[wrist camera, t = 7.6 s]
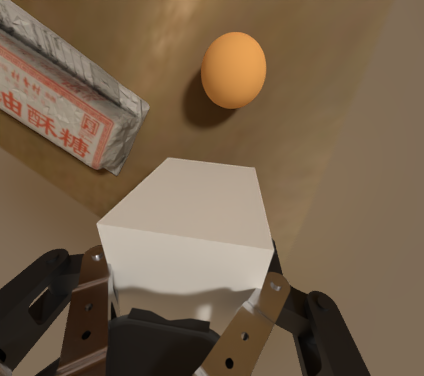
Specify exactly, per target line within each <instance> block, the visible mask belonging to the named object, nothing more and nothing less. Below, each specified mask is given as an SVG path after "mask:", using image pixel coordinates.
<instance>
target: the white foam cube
mask: <svg viewBox="0 0 424 376" xmlns="http://www.w3.org/2000/svg"><path fill="white" fill-rule="evenodd" d="M97 228H98V231H99V235H100V239H101V242H102V246H103V250H104V253H105V257H106V261H107V263H109V264H111V266H112V270H113V286H114V289H117V290H118V293H119V307H120V312H121V315H126V314H129V313H130V311H131V309H132V308H138V309H143V310H149V311H152V312H154V313H156V314H158V315H159V316H161V317H163V318H165V319H167V320H178V319H187V318H192V319H198V320H203V321H209V322H210V327H209V328H210V329H212V330H214V331H215V332H216V333H218V334H219V335H220V336H221V335H222V334H223V332H224V331H225V329H226V328H227V326H228V325H229V324H230V322H231V321H232V319H233V318H234V316H235V315H236V313H237V312H238V310H239V309H240V307H241V306H242V304H243V303H244V302H245V301H248V300H249V298H250V297H251V295H252V294H253V292H254V291H255V289H256V288H260V289H262V286H263V283H264V280H265V277H266V274H267V271H268V268H269V265H270V262H271V259H272V256H273V253H274V247H273V243H272V238H271V234H270V230H269V226H268V222H267V217H266V213H265V209H264V205H263V201H262V196H261V192H260V188H259V184H258V180H257V175H256V171H255V168H252V167H243V166H235V165H226V164H218V163H210V162H201V161H193V160H184V159H176V158H167V159H166V160H165V161H164V162H163V163H162V164H161V165H160V166H158V167H157V168H156V169H155V170H154V171H153V172H152V173H151V174H150V175H149V176H148V177H146V178H145V179H144V180H143V181H142V182H141V183H140V184H139V185H138V186H137V187H136V188H135V189H133V190H132V191H131V192H130V193H129V194H128V195H127V196H126V197H125V198H124V199H123V200H121V201H120V202H119V203H118V204H117V205H116V206H115V207H114V208H113V209H112V210H111V211H110V212H108V213H107V214H106V215H105V216H104V217H103V218H102V219H101V220H100V221H99V222H98V223H97Z"/></svg>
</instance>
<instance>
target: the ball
mask: <svg viewBox="0 0 424 376" xmlns="http://www.w3.org/2000/svg"><path fill="white" fill-rule="evenodd" d="M265 75H266V61H265V56H264V53H263V51H262V49H261V47H260V45H259V44H258V43H257V42H256V41H255V40H254V39H253V38H252V37H250V36H249V35H247V34H244V33H240V32H231V33H227V34H224V35H222V36H220V37H219V38H217V39H216V40H215V41H214V42H213V43H212V44H211V45H210V47H209V48H208V50H207V51H206V53H205V55H204V58H203V62H202V66H201V79H202V84H203V87H204V90H205V92H206V94H207V95H208V97H209V98H210V99H211V100H212V101H213V102H214V103H215V104H217V105H219V106H221V107H223V108H228V109H235V108H240V107H243V106H245V105H247V104H248V103H250V102H251V101H252V100H253V99H254V98H255V97H256V96H257V95H258V93H259V92H260V90H261V88H262V86H263V83H264V80H265Z"/></svg>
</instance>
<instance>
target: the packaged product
mask: <svg viewBox="0 0 424 376" xmlns="http://www.w3.org/2000/svg"><path fill="white" fill-rule="evenodd" d="M0 109H1V110H3V111H4V112H6V113H8V114H9V115H11V116H12V117H14V118H15V119H17V120H19V121H20V122H22V123H23V124H25V125H27V126H28V127H30V128H31V129H33V130H34V131H36V132H37V133H39V134H40V135H42V136H44V137H45V138H47V139H48V140H50V141H51V142H53V143H55V144H56V145H57V146H59V147H61V148H62V149H64V150H65V151H67V152H69V153H70V154H72V155H73V156H75V157H76V158H78V159H79V160H81V161H83V162H84V163H85V164H87V165H89V166H90V167H91V168H94V169H96V170H98V169H101V168H105V169H107V170H108V171H110V172H111V173H113V174H115V175H116V176H117V175H118V174H119V172H120V170H121V168H122V167H123V165H124V163H125V161H126V159H127V157H128V154H129V152H130V150H131V148H132V145H133V143H134V140H135V137H136V135H137V133H138V131H139V129H140V127H141V125H142V123H143V121H144V119H145V117H146V114H147V112H148V110H149V104H148V103H147V102H145V101H144V100H143V99H141V98H140V97H139V96H137V95H136V94H134V93H133V92H132V91H130V90H129V89H127V88H126V87H124V86H123V85H122V84H120V83H119V82H118V81H117V80H115V79H114V78H113V77H112V76H110V75H109V74H108V73H107V72H105V71H104V70H103V69H102V68H100V67H99V66H98V65H97V64H95V63H94V62H92V61H91V60H89V59H88V58H87V57H86V56H84V55H83V54H82V53H80V52H79V51H78V50H76V49H75V48H74V47H72V46H71V45H70V44H68V43H67V42H66V41H65V40H63V39H62V38H61V37H59V36H58V35H57V34H55V33H54V32H53V31H51V30H50V29H49V28H47V27H46V26H44V25H43V24H41V23H40V22H39V21H37V20H36V19H35V18H33V17H32V16H31V15H29V14H28V13H27V12H25V11H24V10H23V9H21V8H20V7H19V6H17V5H16V4H14V3H13V2H11V1H10V0H0Z"/></svg>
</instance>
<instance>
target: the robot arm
mask: <svg viewBox="0 0 424 376" xmlns="http://www.w3.org/2000/svg"><path fill="white" fill-rule="evenodd" d="M272 243H273V247H274V253H273V256H272V259H271V262H270V265H269V268H268V271H267V274H266V277H265V280H264V283H263V286H262V289H260V288H256V289H255V291H254V292H253V294H252V295H251V297H250V298H249V300H248V301H245V302H244V303H243V304H242V306H241V307H240V309H239V310H238V312H237V313H236V315H235V316H234V318H233V319H232V321H231V322H230V324H229V325H228V326H227V328H226V329H225V331H224V332H223V334H222V335H221V336H220V335H219V334H218V333H216V332H215V331H214V330H212V329H210V328H209V327H210V322H209V321H203V320H198V319H192V318H187V319H178V320H167V319H165V318H163V317H161V316H159V315H158V314H156V313H154V312H152V311H149V310H143V309H138V308H132V309H131V311H130V313H129V314H126V315H122V316H121V315H120V307H119V293H118V290H117V289H114V286H113V270H112V266H111V264H109V263H107V261H106V257H105V253H104V250H103V246H102V245H98V246H95V247H93V248H91V249H89V250H88V251H86V252H85V254H77V255H69V254H68V251H66V250H65V249H55V250H51V251H49V252H47V253H45V254H43V255H42V256H41V257H39V258H38V259H37V260H36V261H34V262H33V263H32V264H31V265H29V266H28V267H27V268H26V269H25V270H23V271H22V272H21V273H20V274H19V275H17V276H16V277H15V278H14V279H12V280H11V281H10V282H9V283H7V284H6V285H5V286H4V287H3V288H1V289H0V376H12V371H13V370H14V369H15V368H16V367H17V365H18V364H19V363H20V362H21V360H22V359H23V358H24V357H25V356H26V354H27V353H28V352H29V351H30V349H31V348H32V347H33V346H34V345H35V343H36V342H37V341H38V340H39V339H40V337H41V336H42V335H43V334H44V332H45V331H46V330H47V329H48V328H49V326H50V325H51V324H52V322H53V321H54V320H55V319H56V318H57V316H58V315H59V314H60V313H61V312H62V311H63V309H64V308H65V307H66V306H67V304H68V303H69V302H70V306H69V312H68V317H67V322H66V328H65V333H64V339H63V344H62V349H61V355H60V357H59V358H58V359H57V360H56V361H54V362H53V363H52V364H50V365H49V366H47V367H46V368H45V369H43V370H42V371H40V372H39V373H38V374H36V375H35V376H251V374H252V372H253V370H254V367H255V365H256V363H257V361H258V359H259V357H260V354H261V352H262V350H263V348H264V346H265V344H266V342H267V340H268V338H269V336H270V333H271V331H272V329H273V327H274V325H275V324H276V325H278V326H280V327H281V328H283V329H285V330H287V331H289V332H291V333H292V334H293V338H294V342H295V346H296V350H297V354H298V358H299V363H300V366H301V371H302V375H303V376H370V373H369V371H368V369H367V367H366V365H365V363H364V361H363V359H362V357H361V355H360V353H359V351H358V348H357V346H356V344H355V342H354V340H353V338H352V336H351V334H350V332H349V330H348V328H347V326H346V324H345V321H344V319H343V318H342V315H341V313H340V311H339V309H338V307H337V305H336V304H335V302H334V301H333V300H332V299H331V298H330V297H328V296H327V295H326V294H324V293H322V292H319V291H312V292H310V293H309V294H306V293H303V292H301V291H299V290H297V289H295V288H293V287H292V286H291V285H290V284H289V282H288V281H287V279H286V278H285V277H284V276H283V274H282V270H281V266H280V262H279V258H278V255H277V250H276V246H275V242H274V240H273V239H272ZM46 287H48V289H47V290H46V291H45V292H44V293H43V295H41V296H40V298H38V300H37V301H36V302H35V303H34V304H33V305H32V306H31V307H30V308H29V306H30V304H31V303H32V302H33V300H34V299H35V298H36V297H37V296H38V295H39V294H40V293H41V292H42V291H43V290H44V289H45V288H46Z"/></svg>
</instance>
